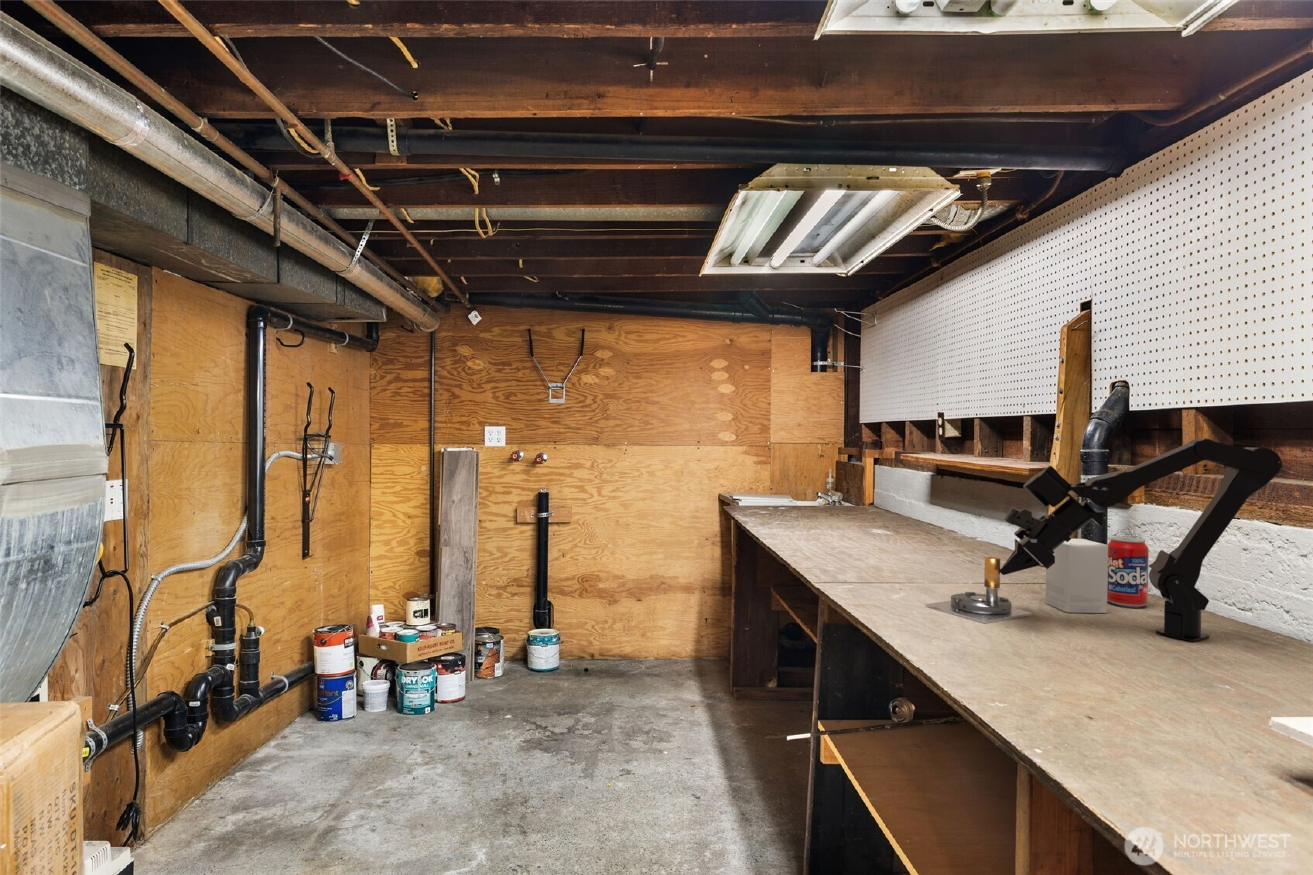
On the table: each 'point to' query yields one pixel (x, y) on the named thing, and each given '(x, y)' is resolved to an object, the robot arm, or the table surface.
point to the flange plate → (977, 617)
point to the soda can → (1127, 572)
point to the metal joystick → (990, 600)
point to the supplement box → (1078, 577)
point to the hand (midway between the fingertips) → (1001, 573)
